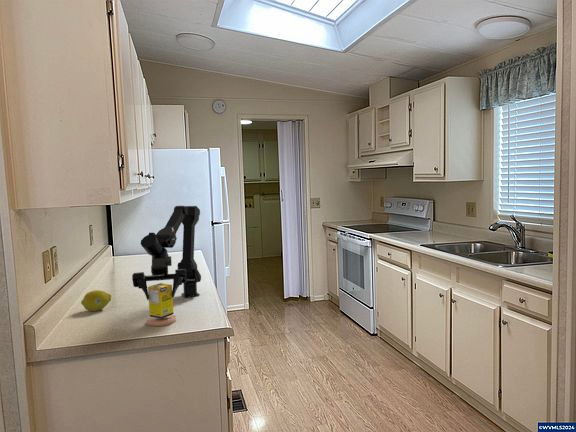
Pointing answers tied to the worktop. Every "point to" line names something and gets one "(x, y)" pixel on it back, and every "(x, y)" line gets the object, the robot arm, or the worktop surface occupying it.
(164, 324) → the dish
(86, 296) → the lemon
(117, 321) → the worktop surface
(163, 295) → the supplement box
